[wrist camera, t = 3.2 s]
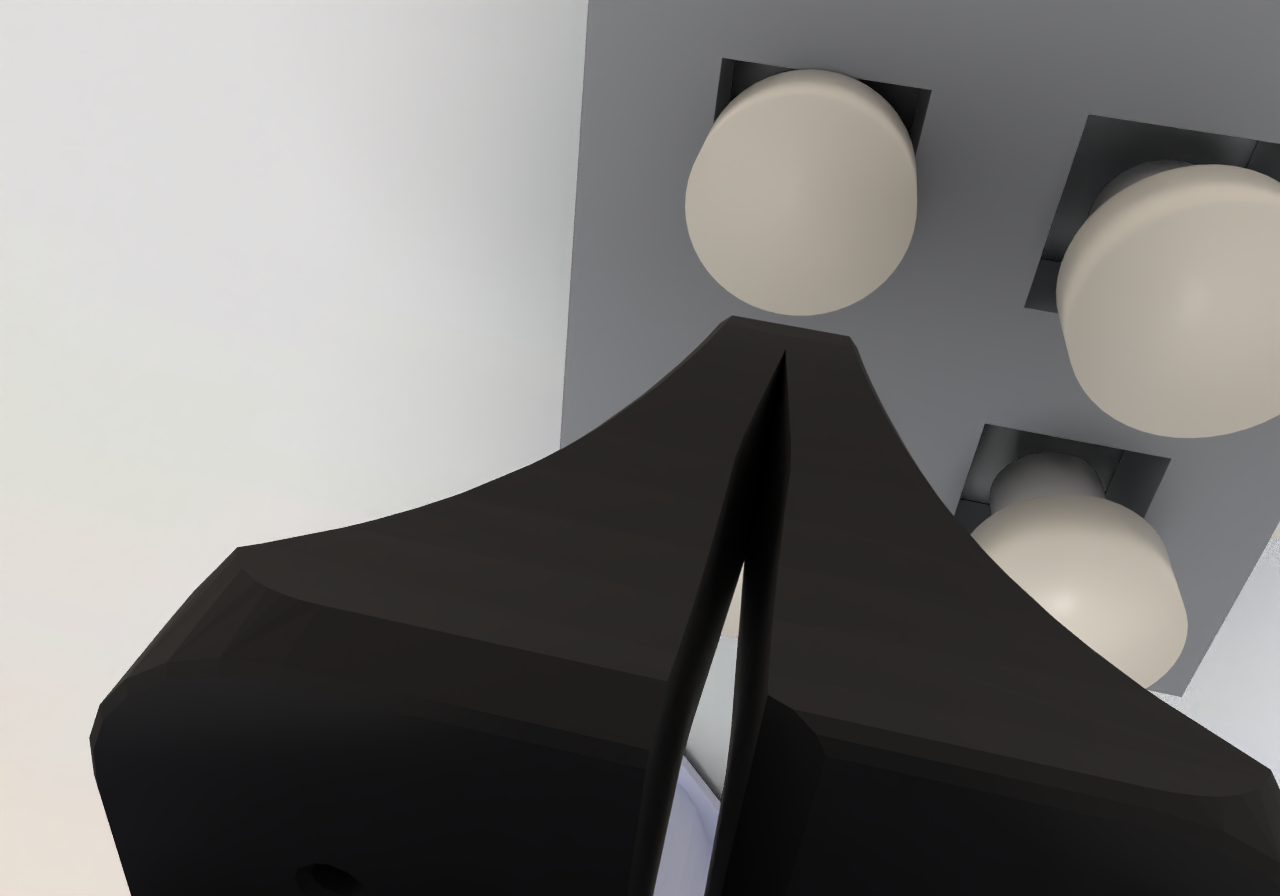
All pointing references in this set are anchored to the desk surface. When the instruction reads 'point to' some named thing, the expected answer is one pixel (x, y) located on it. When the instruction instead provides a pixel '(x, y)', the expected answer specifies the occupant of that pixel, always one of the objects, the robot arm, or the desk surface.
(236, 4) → the desk surface
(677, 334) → the board
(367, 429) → the desk surface
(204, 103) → the desk surface
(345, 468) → the desk surface
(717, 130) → the button
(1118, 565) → the button
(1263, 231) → the button
